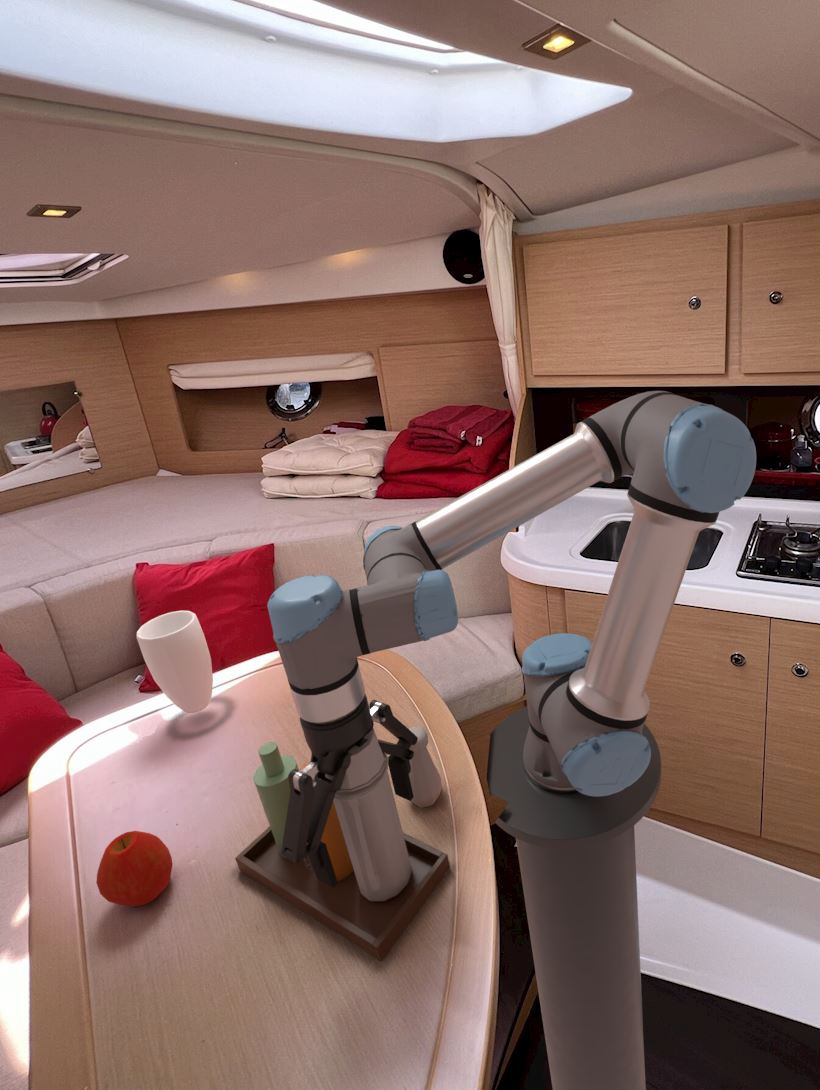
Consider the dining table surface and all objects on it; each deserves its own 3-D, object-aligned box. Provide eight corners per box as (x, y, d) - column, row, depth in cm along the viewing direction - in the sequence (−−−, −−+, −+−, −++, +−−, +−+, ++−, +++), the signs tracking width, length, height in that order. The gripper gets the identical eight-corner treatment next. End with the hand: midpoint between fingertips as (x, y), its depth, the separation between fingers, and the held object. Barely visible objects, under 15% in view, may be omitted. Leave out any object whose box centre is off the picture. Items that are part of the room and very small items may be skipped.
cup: (233, 693, 124) (201, 603, 116) (228, 725, 115) (194, 630, 107) (176, 709, 121) (139, 618, 113) (167, 743, 112) (126, 647, 104)
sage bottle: (320, 821, 93) (292, 729, 86) (316, 852, 87) (285, 757, 81) (282, 830, 91) (250, 738, 85) (275, 863, 86) (241, 768, 80)
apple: (102, 930, 80) (71, 874, 76) (125, 874, 87) (98, 821, 83) (170, 910, 82) (143, 855, 78) (187, 857, 89) (164, 804, 85)
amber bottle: (360, 841, 89) (333, 747, 82) (358, 876, 83) (329, 778, 77) (320, 852, 87) (289, 757, 81) (315, 887, 82) (283, 789, 76)
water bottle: (360, 862, 85) (320, 724, 76) (416, 850, 86) (383, 712, 77) (351, 927, 77) (305, 780, 68) (414, 912, 78) (376, 766, 69)
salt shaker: (404, 814, 93) (388, 749, 88) (411, 784, 98) (396, 721, 94) (441, 810, 93) (428, 745, 88) (446, 781, 98) (434, 718, 94)
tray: (450, 867, 84) (447, 854, 83) (381, 961, 73) (377, 948, 72) (315, 799, 97) (311, 787, 96) (239, 870, 86) (234, 858, 85)
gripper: (384, 638, 81) (411, 758, 89) (212, 770, 61) (266, 909, 69) (427, 651, 78) (451, 774, 86) (259, 795, 58) (310, 939, 66)
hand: (368, 835), depth 78 cm, fingers open, 13 cm apart
